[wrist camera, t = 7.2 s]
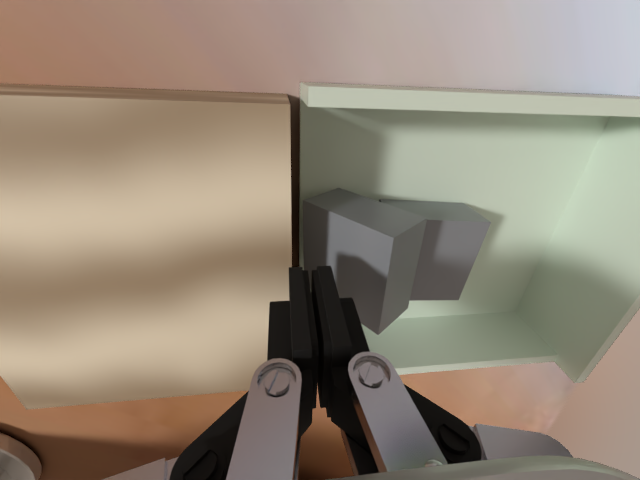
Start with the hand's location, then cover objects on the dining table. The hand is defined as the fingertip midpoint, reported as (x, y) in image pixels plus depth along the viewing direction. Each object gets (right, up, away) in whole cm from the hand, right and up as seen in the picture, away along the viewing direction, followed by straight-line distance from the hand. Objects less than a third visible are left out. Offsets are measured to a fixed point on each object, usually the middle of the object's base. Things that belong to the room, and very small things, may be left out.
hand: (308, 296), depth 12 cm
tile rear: (+6, +1, +4) cm, 7 cm away
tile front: (+1, +1, +2) cm, 2 cm away
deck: (-8, +3, +4) cm, 9 cm away
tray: (+7, +3, +6) cm, 10 cm away
